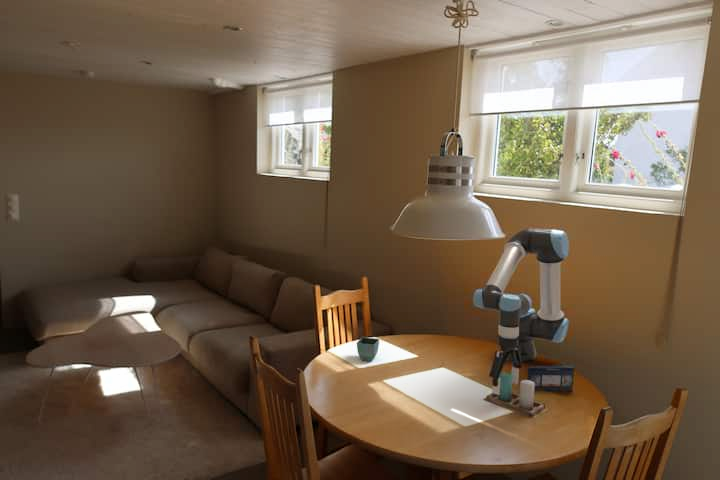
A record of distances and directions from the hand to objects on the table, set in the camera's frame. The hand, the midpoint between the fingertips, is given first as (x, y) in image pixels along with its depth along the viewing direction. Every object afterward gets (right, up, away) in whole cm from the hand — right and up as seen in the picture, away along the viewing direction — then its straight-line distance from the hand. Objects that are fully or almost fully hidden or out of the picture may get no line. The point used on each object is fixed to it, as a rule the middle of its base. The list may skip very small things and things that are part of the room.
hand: (505, 388), depth 199 cm
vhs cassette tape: (+22, -4, +13) cm, 26 cm away
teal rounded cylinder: (0, -5, +1) cm, 5 cm away
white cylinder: (+6, -6, -6) cm, 10 cm away
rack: (+3, -6, -2) cm, 7 cm away
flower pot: (-53, +1, +44) cm, 68 cm away
